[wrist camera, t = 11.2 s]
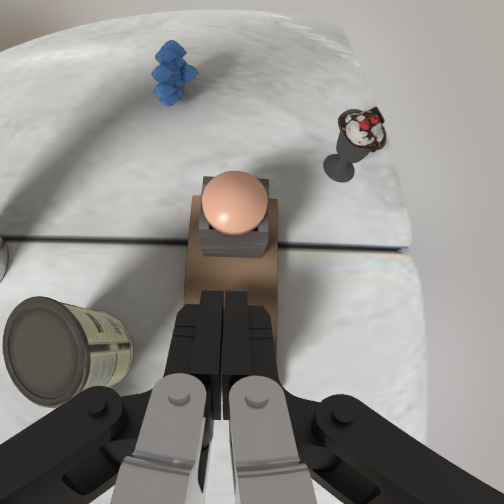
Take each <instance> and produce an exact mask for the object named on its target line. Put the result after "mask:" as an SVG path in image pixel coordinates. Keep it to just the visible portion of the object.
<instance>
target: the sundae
mask: <svg viewBox="0 0 504 504" xmlns="http://www.w3.org/2000/svg"><path fill="white" fill-rule="evenodd" d="M384 121H385V120H384V118H383V116H382V114H381V113H380V111H379V110H378V108H377V107H374V108H372V109H370V110H368V111H361V110H357V109H351V110H348V111H345V112H343V113H342V114H341V115H340V116H339V118H338V126H339V128H340V134H339V137H338V140H337V146H336V150H337V153H338V154H333V155H330V156H328V157H327V158H326V159H325V161H324V170H325V172H326V173H327V175H328V176H329V177H330V178H331V179H333V180H335V181H338V182H347V181H349V180H351V179H352V177H353V176H354V167H353V165H352V163H356V162H359V161H360V160H362V159H363V158H364V157H365V156H366V155H367V154H368V153H370V152H375V151H376V150H379V149H382V148H383V147H384V145H385V143H386V132H385V129H384V127H383V126H382V124H383V123H384Z"/></svg>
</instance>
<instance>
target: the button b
mask: <svg viewBox="0 0 504 504" xmlns="http://www.w3.org/2000/svg"><path fill="white" fill-rule="evenodd" d="M267 205H268V197H267V193H266V190H265V188H264V186H263V185H262V183H261V182H260V181H259V180H258V179H257V178H255V177H254V176H252V175H250V174H248V173H245V172H241V171H229V172H224V173H222V174H219V175H217V176H216V177H214V178H213V179H212V180H211V181H210V182H209V183H208V184H207V186H206V187H205V189H204V192H203V195H202V206H203V211H204V215H205V218H206V220H207V221H208V223H209V224H210V225H211V226H212V227H213V229H215V230H217V231H219V232H221V233H223V234H227V235H243V234H246V233H249V232H251V231H254V229H255V228H257V227H258V226H259V224H260V223H261V222H262V220H263V218H264V216H265V213H266V209H267Z"/></svg>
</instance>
